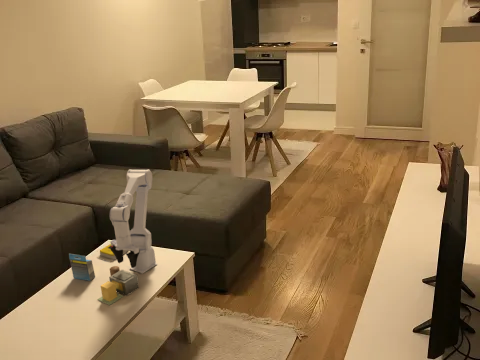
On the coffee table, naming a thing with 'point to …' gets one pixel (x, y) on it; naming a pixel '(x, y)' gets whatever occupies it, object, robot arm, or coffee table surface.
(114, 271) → the walnut cylinder
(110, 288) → the ochre block
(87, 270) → the label tape box
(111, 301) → the pad
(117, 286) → the box
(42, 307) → the coffee table surface
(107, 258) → the emergency button
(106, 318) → the coffee table surface
